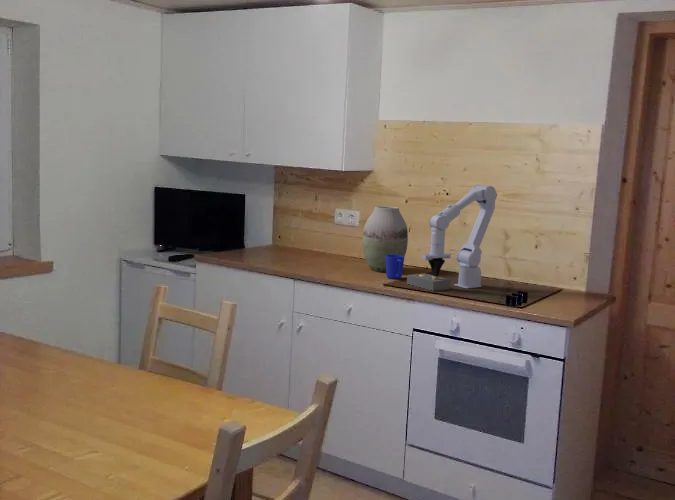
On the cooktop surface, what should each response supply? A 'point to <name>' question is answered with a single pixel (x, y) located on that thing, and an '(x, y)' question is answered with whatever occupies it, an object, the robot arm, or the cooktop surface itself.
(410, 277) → the block
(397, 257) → the mug
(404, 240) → the vase
